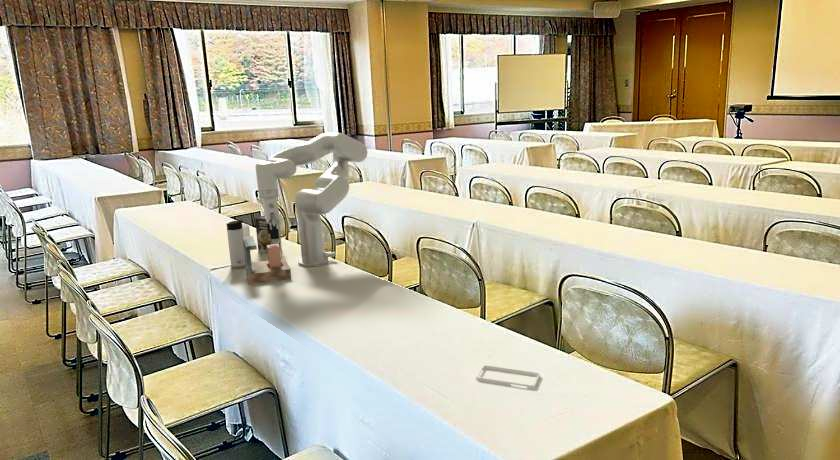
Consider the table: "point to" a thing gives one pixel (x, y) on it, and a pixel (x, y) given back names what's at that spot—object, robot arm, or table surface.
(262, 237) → the coffee box
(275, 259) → the peg
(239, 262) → the travel mug
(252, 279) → the socket block
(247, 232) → the drinking glass
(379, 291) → the table surface
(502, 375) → the table surface
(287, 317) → the table surface
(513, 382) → the rectangular ring
